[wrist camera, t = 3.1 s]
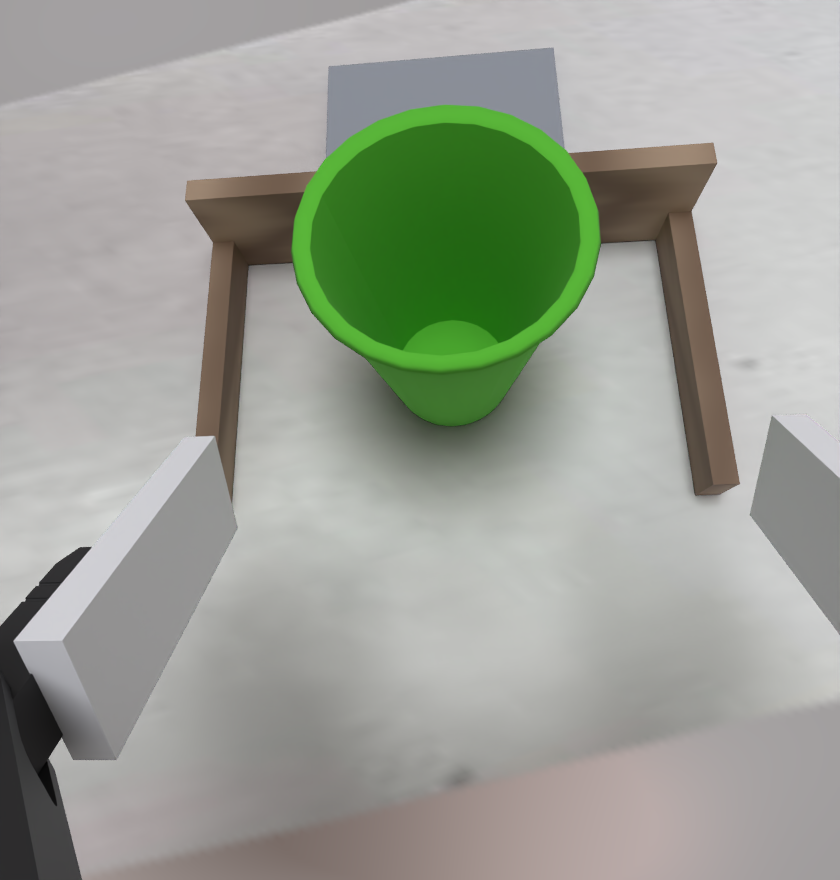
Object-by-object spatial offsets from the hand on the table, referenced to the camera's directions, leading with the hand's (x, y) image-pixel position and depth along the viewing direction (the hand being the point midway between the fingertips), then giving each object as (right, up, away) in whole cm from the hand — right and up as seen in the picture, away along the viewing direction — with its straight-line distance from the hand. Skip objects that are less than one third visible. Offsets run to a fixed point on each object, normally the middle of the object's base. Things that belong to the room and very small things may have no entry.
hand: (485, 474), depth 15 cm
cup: (0, +4, +13) cm, 14 cm away
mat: (0, +16, +17) cm, 24 cm away
